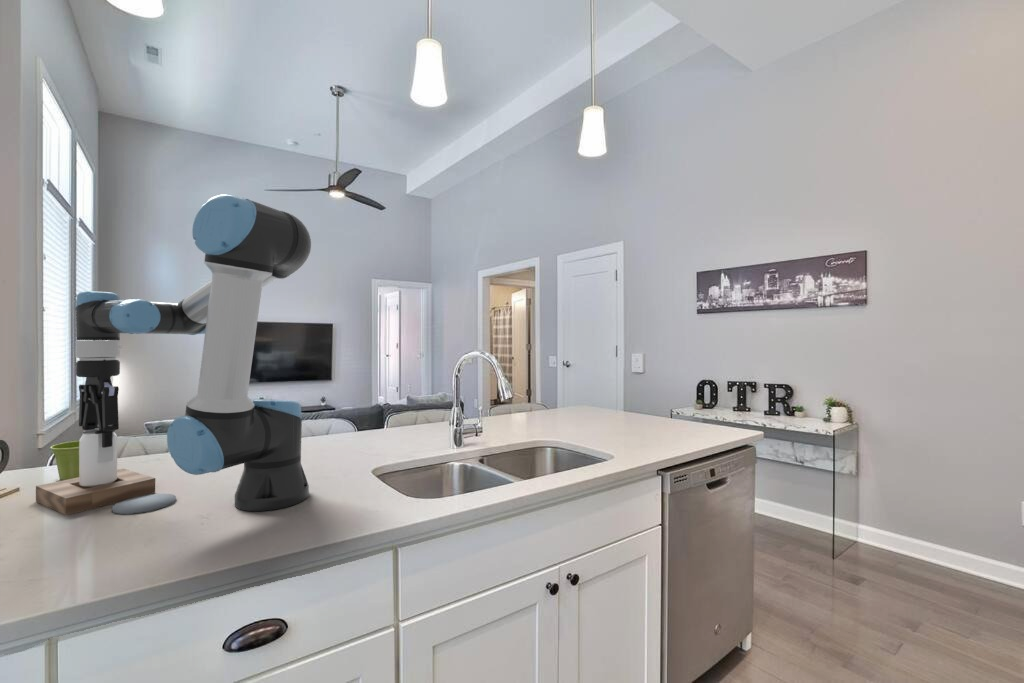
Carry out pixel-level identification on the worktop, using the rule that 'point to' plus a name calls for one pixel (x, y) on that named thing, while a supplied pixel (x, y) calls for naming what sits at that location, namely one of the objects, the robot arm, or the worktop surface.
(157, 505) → the slate mat
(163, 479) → the worktop surface
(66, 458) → the plant pot
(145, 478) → the pocket block
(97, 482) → the can
